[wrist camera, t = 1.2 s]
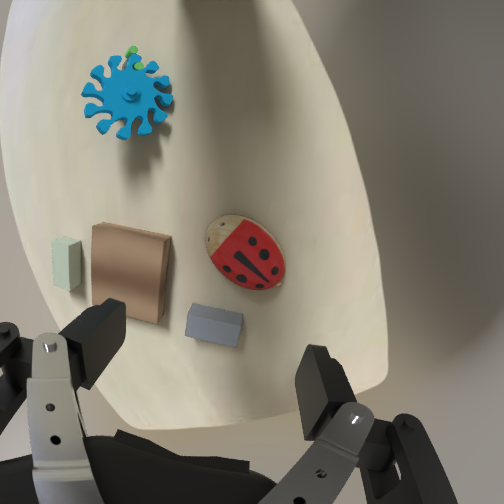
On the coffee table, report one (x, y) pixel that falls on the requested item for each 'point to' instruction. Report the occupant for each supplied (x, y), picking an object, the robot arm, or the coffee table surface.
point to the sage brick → (66, 262)
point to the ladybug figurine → (245, 252)
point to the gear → (127, 94)
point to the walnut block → (130, 269)
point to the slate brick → (213, 325)
